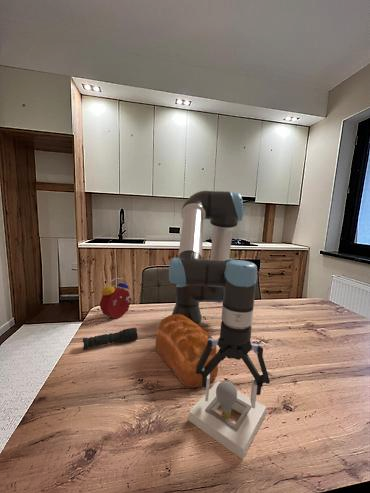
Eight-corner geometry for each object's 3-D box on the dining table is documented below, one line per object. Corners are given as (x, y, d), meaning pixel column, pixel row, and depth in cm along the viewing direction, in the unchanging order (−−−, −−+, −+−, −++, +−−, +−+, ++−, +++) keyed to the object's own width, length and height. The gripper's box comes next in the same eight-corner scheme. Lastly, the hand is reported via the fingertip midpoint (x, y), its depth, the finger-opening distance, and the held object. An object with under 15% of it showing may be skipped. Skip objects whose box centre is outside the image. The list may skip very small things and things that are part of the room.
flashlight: (137, 341, 96) (138, 330, 95) (83, 353, 86) (83, 341, 86) (134, 335, 100) (134, 325, 100) (82, 346, 91) (82, 334, 90)
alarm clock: (123, 309, 125) (123, 273, 122) (134, 314, 120) (135, 277, 117) (99, 319, 113) (99, 279, 110) (110, 325, 108) (110, 283, 105)
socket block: (188, 420, 61) (189, 410, 60) (217, 388, 72) (218, 379, 72) (242, 459, 52) (243, 447, 51) (265, 415, 63) (266, 405, 63)
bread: (186, 393, 70) (189, 345, 68) (151, 347, 92) (152, 310, 90) (222, 378, 77) (225, 335, 75) (181, 339, 99) (183, 305, 97)
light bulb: (226, 405, 66) (226, 373, 64) (241, 419, 61) (241, 385, 60) (211, 414, 63) (211, 382, 61) (226, 430, 58) (226, 395, 57)
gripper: (187, 324, 56) (183, 405, 59) (290, 335, 53) (279, 420, 56) (191, 311, 63) (186, 383, 66) (281, 321, 60) (272, 396, 63)
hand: (229, 400), depth 61 cm, fingers open, 11 cm apart
